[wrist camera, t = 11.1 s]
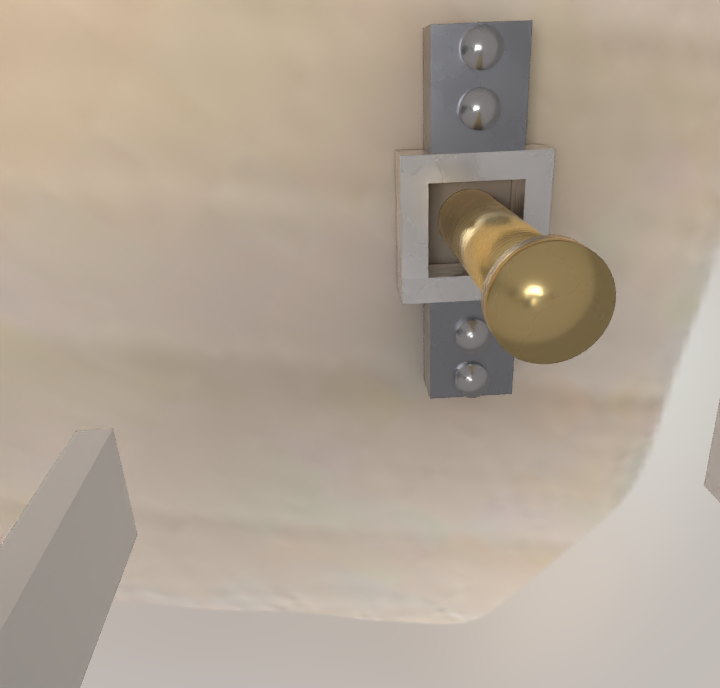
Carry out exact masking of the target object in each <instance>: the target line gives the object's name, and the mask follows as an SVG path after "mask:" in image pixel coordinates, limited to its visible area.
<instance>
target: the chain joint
mask: <svg viewBox="0 0 720 688" xmlns="http://www.w3.org/2000/svg"><path fill="white" fill-rule="evenodd" d="M531 37H532V20H530V21H506V22H481V23H457V24H432V25H429V26H427V27H425V28H423V149H419V150H398V151H395V163H396V218H397V273H398V292H399V295H400V298H401V301H402V304H417V303H424V381H425V384H426V387H427V390H428V393H429V396H430V398H447V397H468V398H475V397H479V396H482V395H500V394H512V380H513V362H514V356H512V355H511V354H509V353H508V352H507V351H506V350H504V349H503V348H502V346H501V345H500V344H499V343H498V342H497V340H496V339H495V337H494V336H493V334H492V332H491V331H490V329H489V328H488V326H487V324H486V322H485V319H484V316H483V313H482V307H481V295H482V292H481V291H480V290H479V288H478V287H477V285H476V284H475V283H474V281H473V280H472V278H471V277H470V276H469V274H468V273H467V271H466V270H465V268H464V267H463V266H462V264H461V263H452V264H432V265H428V184H430V183H451V182H472V181H493V180H512V189H511V210H510V211H511V212H513V213H514V214H515V215H517V216H518V217H519V218H521V219H522V220H523V221H525V222H526V223H528V224H529V225H530V226H532V227H533V228H534V229H536V230H537V231H538V232H540V233H541V234H542V235H549V227H550V214H551V200H552V186H553V172H554V158H555V149H554V148H551V147H548V146H544V145H541V144H528V145H526V127H527V109H528V91H529V73H530V55H531Z"/></svg>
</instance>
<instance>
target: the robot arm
mask: <svg viewBox="0 0 720 688" xmlns="http://www.w3.org/2000/svg"><path fill="white" fill-rule="evenodd" d="M704 486H705V487H706V488H707V489H708V490H709V491H710V492H711V494H713V496H714V497H715V498H716V499H717V500H718V501H719V502H720V401H719V406H718V412H717V417H716V422H715V428H714V433H713V439H712V444H711V450H710V456H709V461H708V466H707V471H706V478H705V483H704ZM136 537H137V531H136V526H135V522H134V518H133V513H132V509H131V505H130V500H129V496H128V491H127V487H126V483H125V478H124V474H123V470H122V465H121V461H120V457H119V452H118V448H117V443H116V439H115V435H114V430H113V428H109V429H97V430H84V431H76V432H75V433H74V435H73V436H72V438H71V439H70V441H69V442H68V444H67V445H66V447H65V448H64V450H63V452H62V453H61V455H60V456H59V458H58V459H57V461H56V462H55V464H54V465H53V467H52V468H51V470H50V471H49V473H48V474H47V476H46V478H45V479H44V481H43V482H42V484H41V485H40V487H39V488H38V490H37V491H36V493H35V494H34V496H33V497H32V499H31V500H30V502H29V504H28V505H27V507H26V508H25V510H24V511H23V513H22V514H21V516H20V517H19V519H18V520H17V522H16V523H15V525H14V526H13V528H12V529H11V531H10V533H9V534H8V536H7V537H6V539H5V540H4V542H3V543H2V545H1V546H0V688H80V686H81V684H82V681H83V678H84V676H85V673H86V670H87V668H88V665H89V662H90V660H91V657H92V654H93V652H94V649H95V646H96V644H97V641H98V638H99V635H100V633H101V630H102V628H103V625H104V622H105V620H106V617H107V614H108V612H109V609H110V606H111V604H112V601H113V598H114V596H115V593H116V590H117V588H118V585H119V582H120V580H121V577H122V574H123V572H124V569H125V566H126V564H127V561H128V558H129V556H130V553H131V550H132V548H133V545H134V542H135V540H136Z"/></svg>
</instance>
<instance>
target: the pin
mask: <svg viewBox="0 0 720 688" xmlns="http://www.w3.org/2000/svg"><path fill="white" fill-rule="evenodd" d="M438 226H439V230H440V233H441V235H442V237H443V239H444V240H445V242H446V243H447V244H448V246H449V247H450V249H451V250H452V251H453V253H454V254H455V256H456V257H457V259H458V260H459V261H460V263H461V264H462V266H463V267H464V268H465V270H466V271H467V273H468V274H469V276H470V277H471V278H472V280H473V281H474V283H475V284H476V285H477V287H478V288H479V290H480V291H481V292H482V295H481V307H482V313H483V316H484V319H485V322H486V324H487V326H488V328H489V329H490V331H491V332H492V334H493V336H494V337H495V339H496V340H497V342H498V343H499V344H500V345H501V346H502V348H503V349H504V350H506V351H507V352H508V353H509V354H511V355H512V356H514V357H516V358H518V359H520V360H523V361H526V362H530V363H536V364H552V363H558V362H562V361H565V360H568V359H571V358H573V357H575V356H577V355H579V354H581V353H582V352H584V351H585V350H587V349H588V348H589V347H590V346H592V345H593V344H594V343H595V342H596V341H597V340H598V339H599V338H600V336H601V335H602V334H603V332H604V331H605V329H606V328H607V326H608V324H609V322H610V320H611V318H612V315H613V311H614V307H615V301H616V290H615V283H614V279H613V277H612V274H611V272H610V270H609V268H608V266H607V265H606V263H605V262H604V261H603V260H602V259H601V258H600V257H599V256H598V255H597V254H596V253H594V252H593V251H591V250H590V249H588V248H587V247H585V246H584V245H582V244H581V243H579V242H578V241H575V240H573V239H571V238H568V237H564V236H559V235H542V234H541V233H540V232H538V231H537V230H536V229H534V228H533V227H532V226H530V225H529V224H528V223H526V222H525V221H523V220H522V219H521V218H519V217H518V216H517V215H515V214H514V213H513V212H511V211H510V210H509V209H507V208H506V207H505V206H503V205H502V204H501V203H499V202H498V201H496V200H495V199H494V198H492V197H491V196H490V195H488V194H487V193H485V192H483V191H480V190H476V189H466V190H462V191H459V192H457V193H455V194H453V195H452V196H451V197H450V198H449V199H447V201H446V202H445V203H444V205H443V206H442V208H441V211H440V213H439V219H438Z"/></svg>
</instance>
